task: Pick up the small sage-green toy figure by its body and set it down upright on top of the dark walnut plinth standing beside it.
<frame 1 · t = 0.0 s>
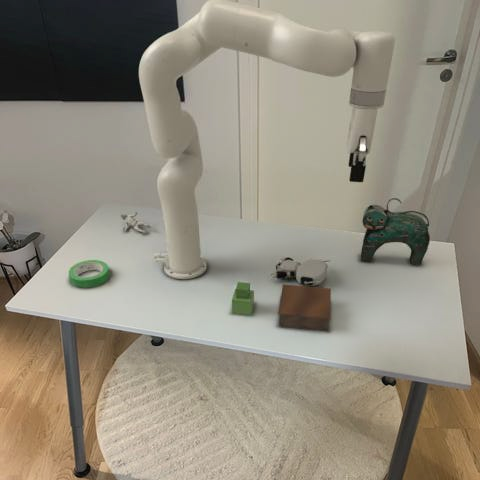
hand: (355, 173, 112), 31 cm above the table, tool pointing down, fingers open, 9 cm apart
robot toy: (300, 278, 133), on the table
ceramic cat: (388, 260, 141), on the table
soldier figure: (136, 229, 157), on the table
green toy: (243, 308, 122), on the table
tape roll: (90, 277, 134), on the table
walnut plinth: (304, 314, 120), on the table
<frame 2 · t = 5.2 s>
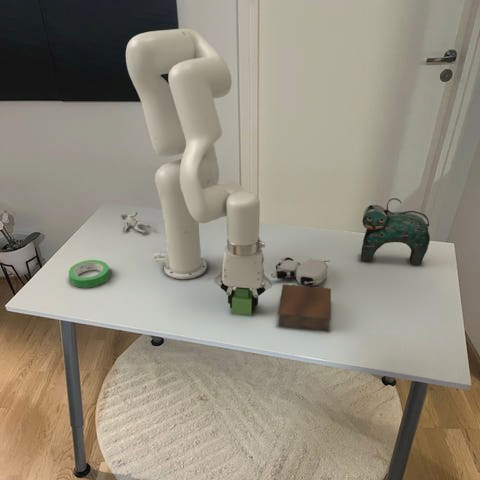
hand: (243, 305, 121), 1 cm above the table, tool pointing down, fingers closed on green toy, 5 cm apart
green toy: (243, 308, 122), on the table, touching gripper
everything else where it was.
when the fingers open (5 cm above the table, at t = 11.8 s): green toy stays where it is, resting on walnut plinth.
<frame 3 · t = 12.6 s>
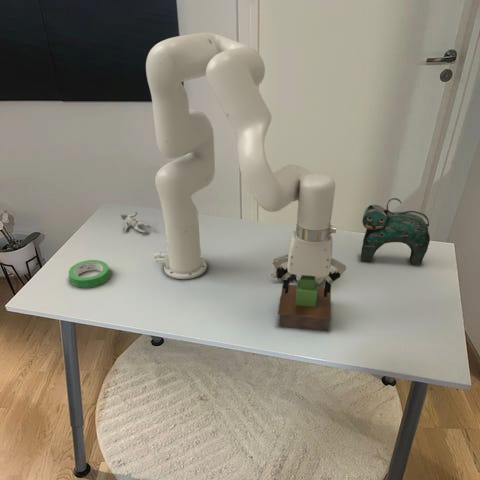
hand: (306, 292, 115), 7 cm above the table, tool pointing down, fingers open, 9 cm apart
green toy: (305, 300, 117), point 4 cm above the table, touching walnut plinth
everything else where it was.
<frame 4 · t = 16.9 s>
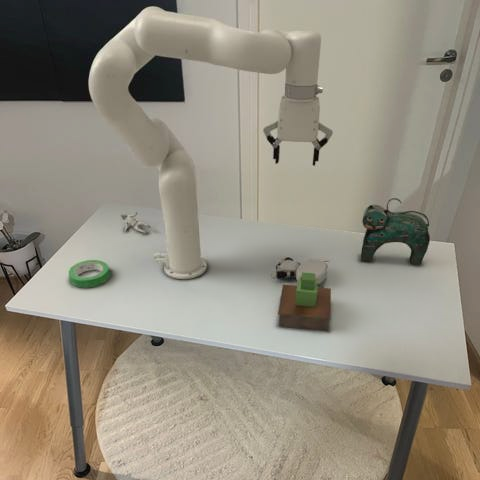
hand: (295, 162, 121), 30 cm above the table, tool pointing down, fingers open, 9 cm apart
nothing on the table moved.
at the end: green toy inside the target area on the walnut plinth (0.1 cm from its centre), point 4.5 cm above the walnut plinth's base; green toy tilted 0°; the gripper is holding nothing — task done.
